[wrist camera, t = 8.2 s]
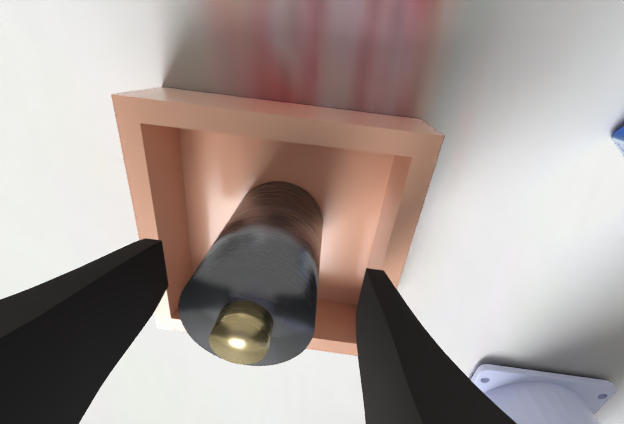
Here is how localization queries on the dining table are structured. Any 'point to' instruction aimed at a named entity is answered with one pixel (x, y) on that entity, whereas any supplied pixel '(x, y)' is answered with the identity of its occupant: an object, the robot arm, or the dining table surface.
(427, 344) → the robot arm
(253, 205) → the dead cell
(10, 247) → the dining table surface
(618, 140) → the medicine box
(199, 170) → the tray
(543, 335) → the dining table surface
